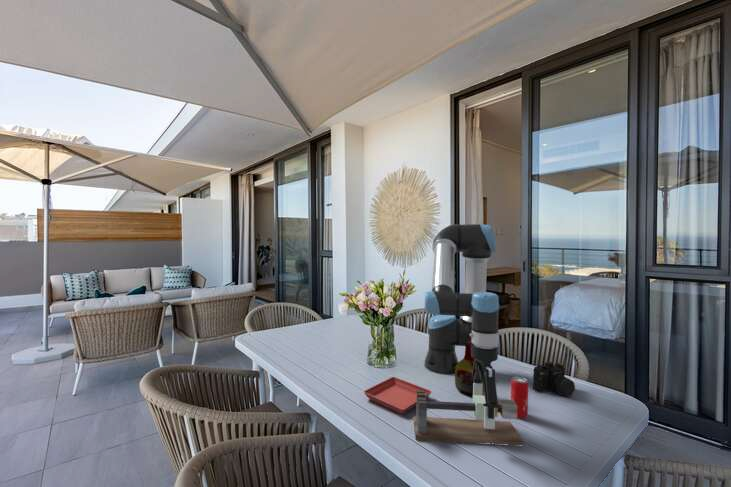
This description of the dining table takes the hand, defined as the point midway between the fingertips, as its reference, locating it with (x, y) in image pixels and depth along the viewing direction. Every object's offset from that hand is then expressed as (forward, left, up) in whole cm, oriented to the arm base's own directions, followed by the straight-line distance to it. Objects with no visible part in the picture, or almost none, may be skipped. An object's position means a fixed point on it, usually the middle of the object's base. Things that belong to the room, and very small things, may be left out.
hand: (483, 415), depth 101 cm
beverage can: (-12, +15, -6) cm, 20 cm away
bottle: (-26, +2, -6) cm, 27 cm away
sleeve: (0, 0, 0) cm, 0 cm away
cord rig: (0, -5, -6) cm, 8 cm away
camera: (-31, +35, -6) cm, 47 cm away
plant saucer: (-19, -25, -6) cm, 32 cm away
